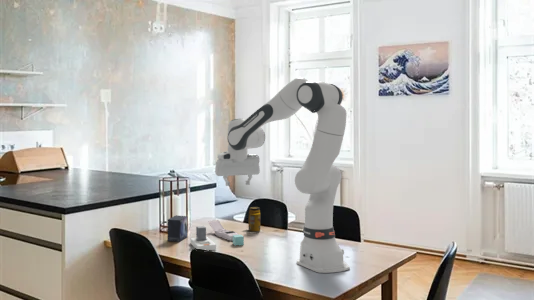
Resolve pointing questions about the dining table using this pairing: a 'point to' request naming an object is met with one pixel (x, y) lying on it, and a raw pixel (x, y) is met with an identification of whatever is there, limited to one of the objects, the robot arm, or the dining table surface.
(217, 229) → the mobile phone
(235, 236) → the teal cube
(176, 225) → the small box
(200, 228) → the block
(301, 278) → the dining table surface
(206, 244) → the power strip
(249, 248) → the dining table surface
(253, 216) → the condiment
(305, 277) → the dining table surface
